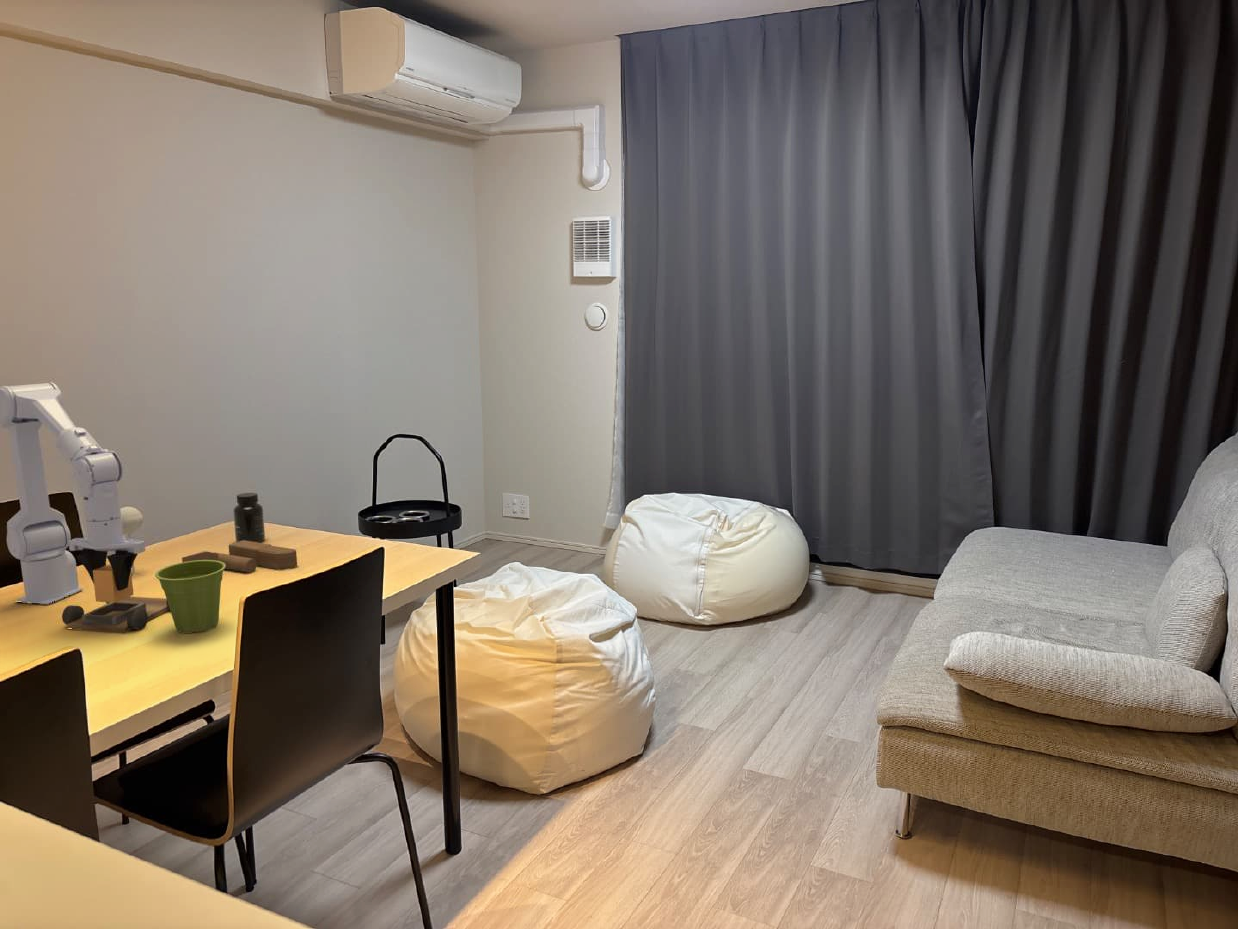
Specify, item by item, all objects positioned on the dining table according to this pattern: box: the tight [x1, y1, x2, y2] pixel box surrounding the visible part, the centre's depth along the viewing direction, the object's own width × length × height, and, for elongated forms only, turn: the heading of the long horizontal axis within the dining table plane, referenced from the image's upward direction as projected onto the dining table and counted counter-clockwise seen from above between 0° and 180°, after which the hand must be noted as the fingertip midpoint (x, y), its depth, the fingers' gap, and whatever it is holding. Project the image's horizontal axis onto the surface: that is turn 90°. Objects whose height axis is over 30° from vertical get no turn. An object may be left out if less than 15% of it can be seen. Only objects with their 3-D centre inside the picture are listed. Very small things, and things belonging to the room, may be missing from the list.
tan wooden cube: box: [93, 563, 134, 603], centre depth 174 cm, size 5×4×6 cm
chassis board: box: [61, 596, 170, 634], centre depth 177 cm, size 16×15×4 cm
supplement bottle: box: [233, 492, 266, 543], centre depth 229 cm, size 7×7×12 cm
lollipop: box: [120, 506, 144, 574], centre depth 204 cm, size 6×6×15 cm
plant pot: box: [154, 560, 226, 634], centre depth 170 cm, size 12×12×11 cm
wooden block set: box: [181, 540, 298, 574], centre depth 205 cm, size 17×6×18 cm
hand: (111, 588), depth 173 cm, fingers closed on tan wooden cube, 4 cm apart
